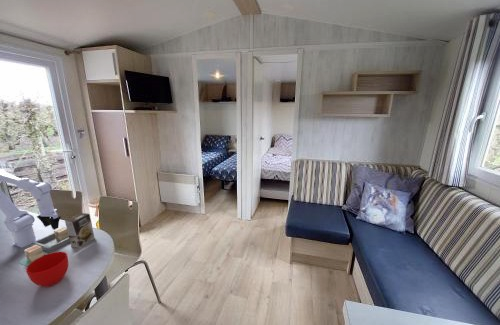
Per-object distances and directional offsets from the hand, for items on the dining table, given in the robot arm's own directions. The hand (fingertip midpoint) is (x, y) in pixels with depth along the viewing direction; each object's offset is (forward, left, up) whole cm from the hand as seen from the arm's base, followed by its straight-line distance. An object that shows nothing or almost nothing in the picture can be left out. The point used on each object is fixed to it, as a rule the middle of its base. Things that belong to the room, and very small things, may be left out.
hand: (51, 227), depth 118 cm
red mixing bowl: (+29, -17, -10) cm, 35 cm away
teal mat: (+7, -12, -9) cm, 17 cm away
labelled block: (+8, -12, -9) cm, 17 cm away
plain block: (+1, +3, -9) cm, 10 cm away
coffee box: (+15, +5, -10) cm, 19 cm away
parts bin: (+1, 0, -9) cm, 10 cm away
